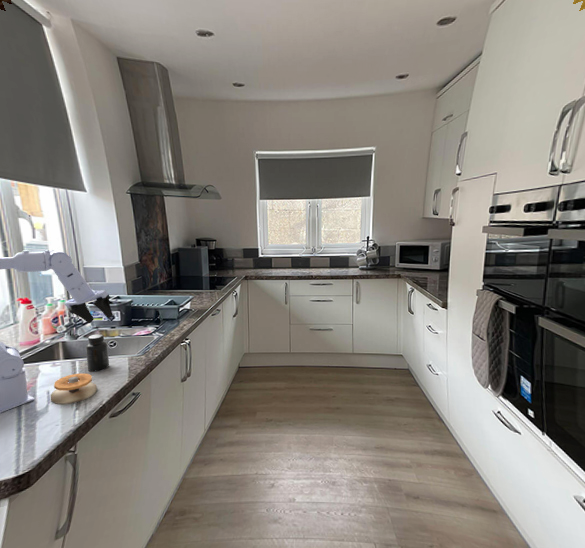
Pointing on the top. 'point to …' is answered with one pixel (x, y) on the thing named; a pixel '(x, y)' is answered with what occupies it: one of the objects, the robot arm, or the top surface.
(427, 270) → the top surface
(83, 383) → the rubber ring
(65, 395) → the post stand
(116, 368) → the top surface
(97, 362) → the supplement bottle
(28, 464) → the top surface
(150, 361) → the top surface
